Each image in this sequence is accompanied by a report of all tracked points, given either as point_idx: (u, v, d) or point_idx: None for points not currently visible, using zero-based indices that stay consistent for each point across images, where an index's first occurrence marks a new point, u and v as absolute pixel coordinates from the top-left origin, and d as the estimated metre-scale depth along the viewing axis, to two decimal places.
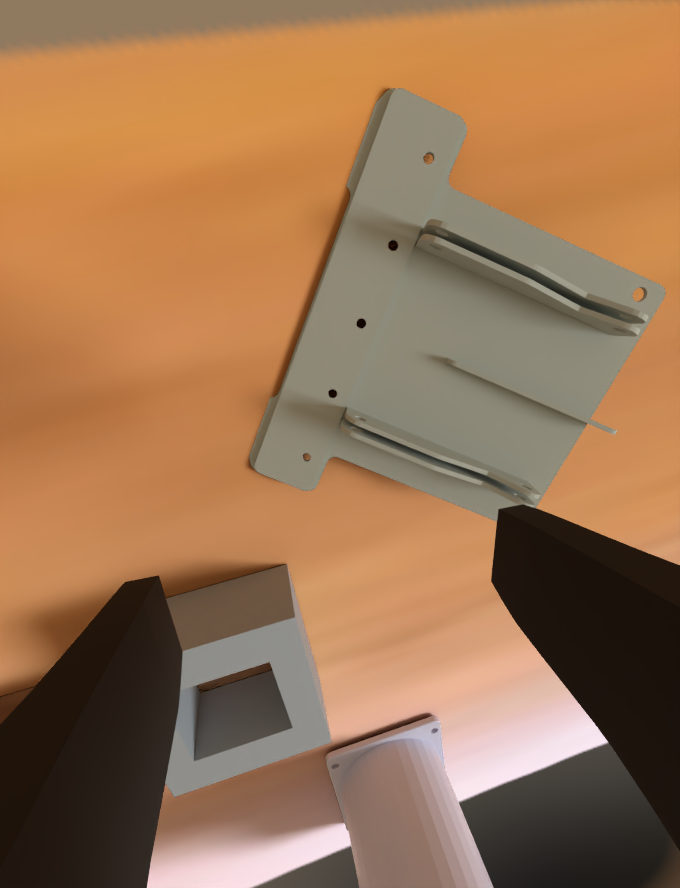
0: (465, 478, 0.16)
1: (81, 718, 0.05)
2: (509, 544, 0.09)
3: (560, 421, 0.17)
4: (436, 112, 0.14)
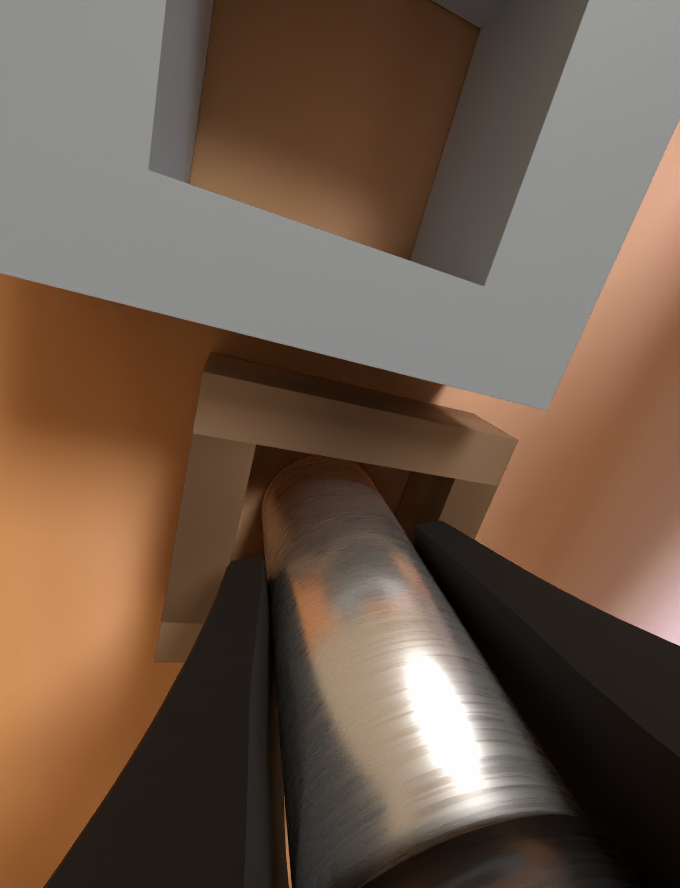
0: None
1: (251, 676, 0.05)
2: (424, 562, 0.08)
3: None
4: None
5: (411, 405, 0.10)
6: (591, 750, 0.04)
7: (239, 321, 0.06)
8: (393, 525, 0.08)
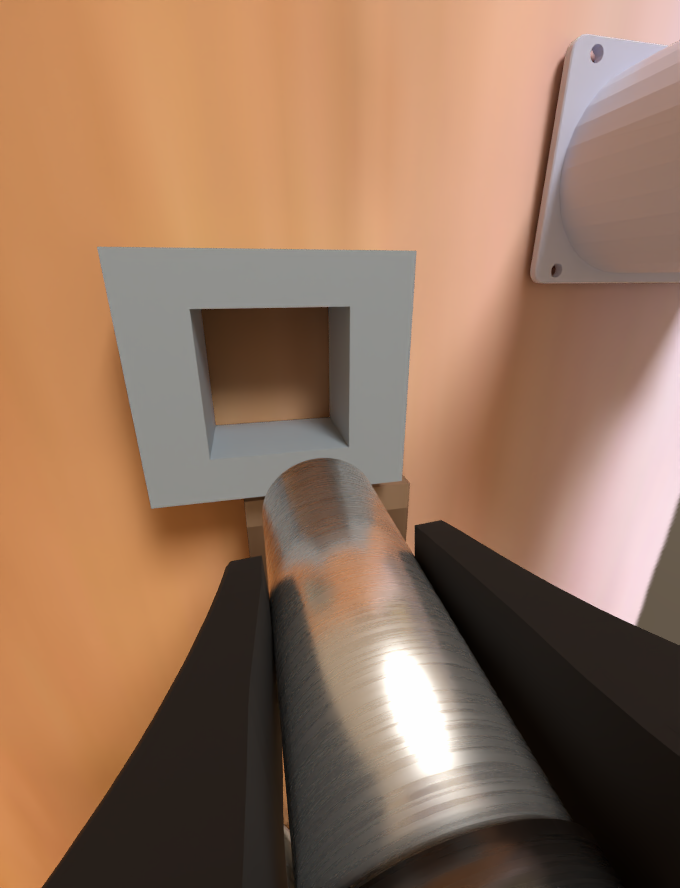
0: None
1: (250, 677, 0.05)
2: (424, 562, 0.08)
3: None
4: None
5: None
6: (591, 750, 0.04)
7: (254, 493, 0.14)
8: (389, 530, 0.08)
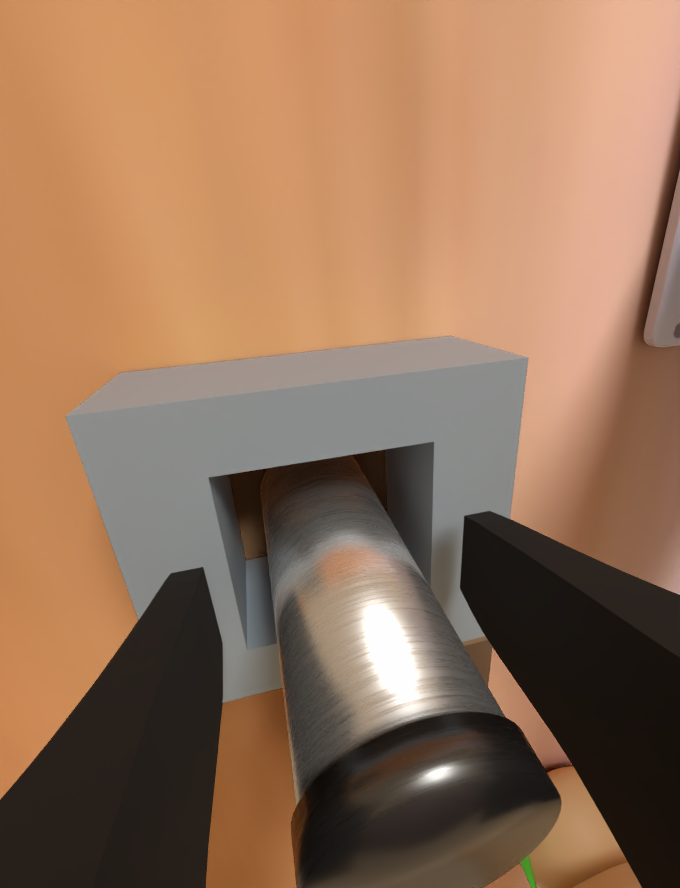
0: None
1: (155, 700, 0.05)
2: (475, 551, 0.08)
3: None
4: None
5: None
6: (677, 722, 0.05)
7: None
8: (373, 504, 0.09)
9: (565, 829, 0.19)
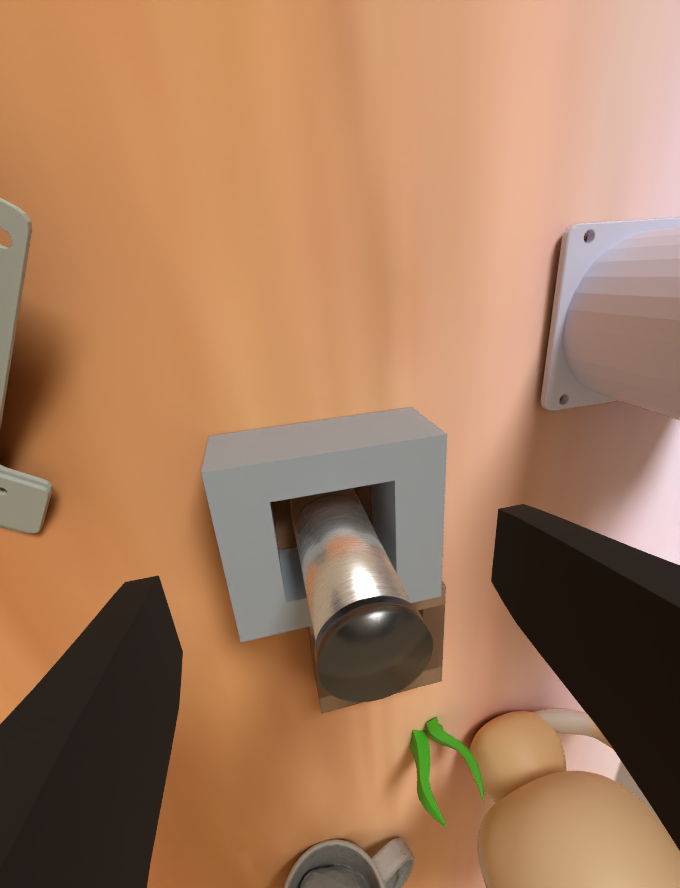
0: None
1: (81, 718, 0.05)
2: (509, 544, 0.09)
3: None
4: None
5: None
6: None
7: None
8: (359, 511, 0.16)
9: (508, 752, 0.26)
